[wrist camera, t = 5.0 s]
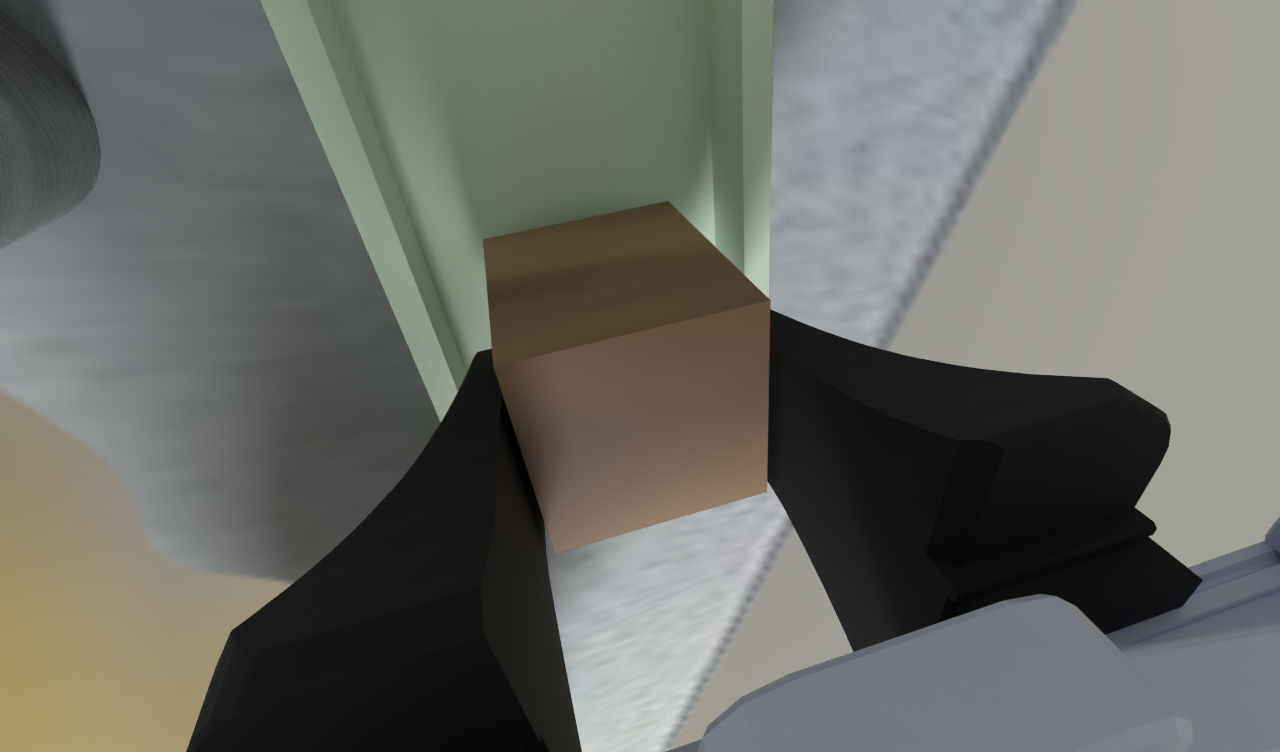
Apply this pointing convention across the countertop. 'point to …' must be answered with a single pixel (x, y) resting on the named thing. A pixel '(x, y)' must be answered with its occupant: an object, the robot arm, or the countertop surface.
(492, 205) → the parts tray
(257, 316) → the countertop surface
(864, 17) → the countertop surface
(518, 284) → the walnut block
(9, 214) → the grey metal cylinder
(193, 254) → the countertop surface
